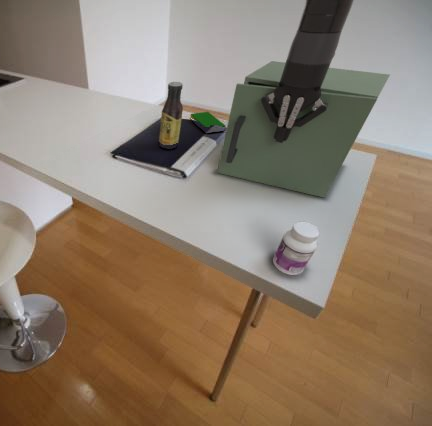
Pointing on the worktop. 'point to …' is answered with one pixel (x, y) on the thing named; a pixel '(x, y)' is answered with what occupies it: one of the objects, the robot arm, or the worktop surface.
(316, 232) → the pill bottle
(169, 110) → the sauce bottle
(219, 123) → the dish sponge
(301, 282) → the worktop surface
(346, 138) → the cupboard door
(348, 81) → the cupboard
